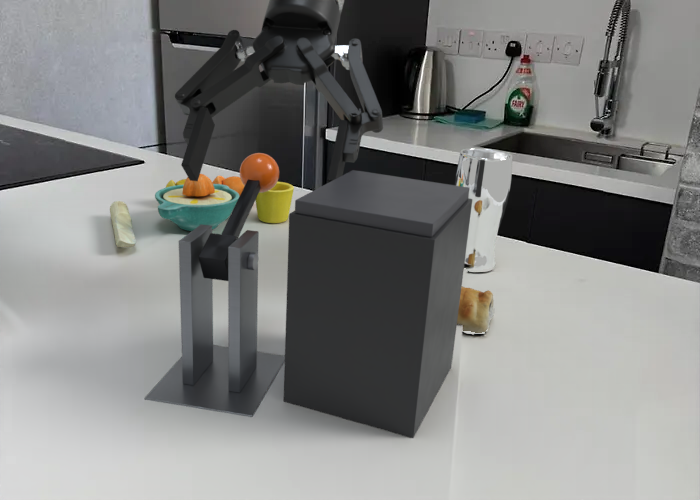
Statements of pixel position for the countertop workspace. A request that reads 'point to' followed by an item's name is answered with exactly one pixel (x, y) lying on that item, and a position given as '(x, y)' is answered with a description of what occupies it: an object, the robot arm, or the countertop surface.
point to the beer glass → (484, 200)
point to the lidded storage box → (374, 297)
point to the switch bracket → (197, 335)
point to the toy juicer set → (203, 205)
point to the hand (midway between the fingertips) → (259, 181)
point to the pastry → (475, 310)
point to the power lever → (238, 214)
